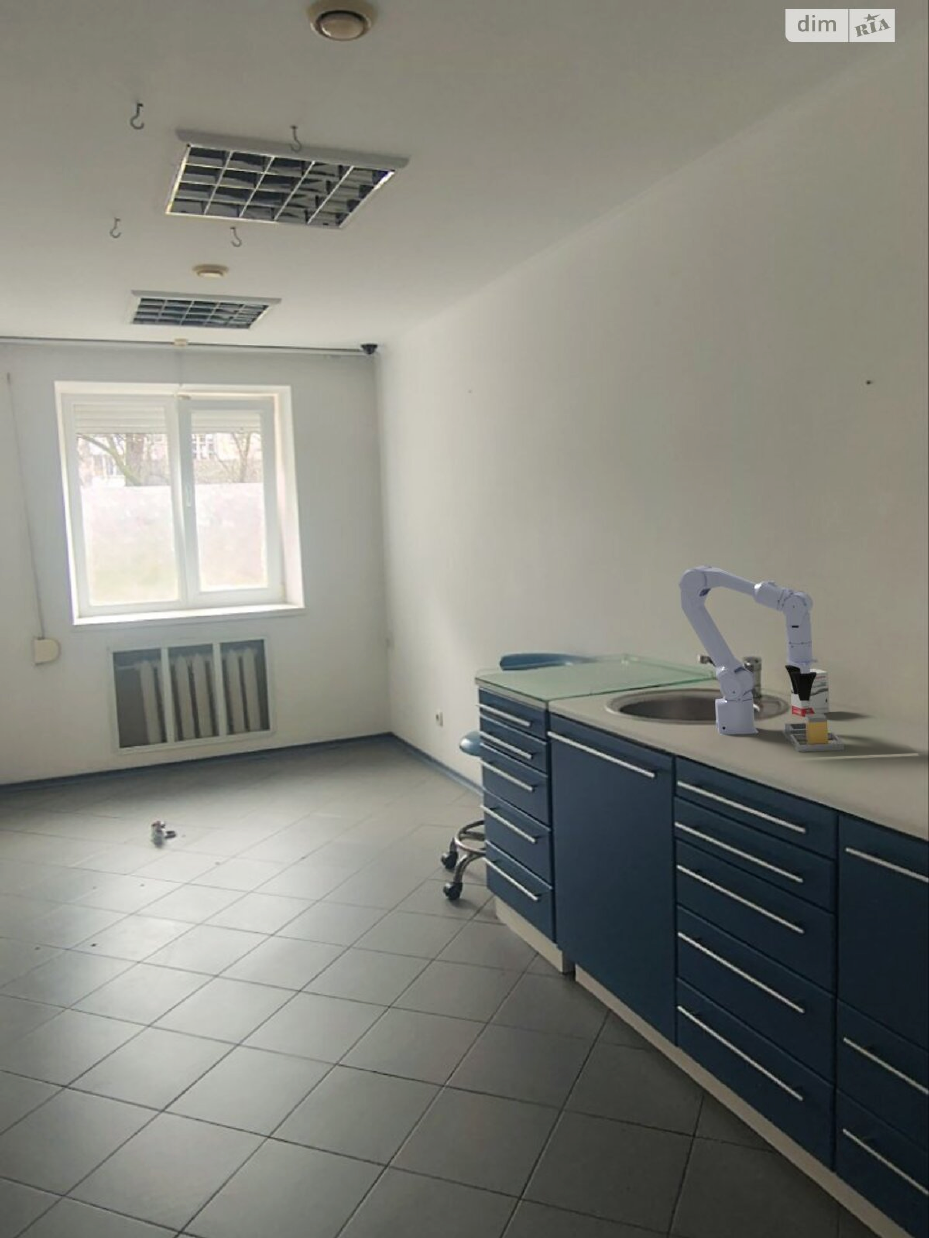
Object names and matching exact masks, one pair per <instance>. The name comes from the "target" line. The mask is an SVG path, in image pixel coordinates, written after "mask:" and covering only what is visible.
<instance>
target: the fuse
mask: <svg viewBox="0 0 929 1238" xmlns="http://www.w3.org/2000/svg"><path fill="white" fill-rule="evenodd" d="M804 717H805V722H806V738H807V740H806V745H809V744H829V739H828V733H829V732H828V718H827V716H826V715H825V713H821V714H805V716H804Z"/></svg>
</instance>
